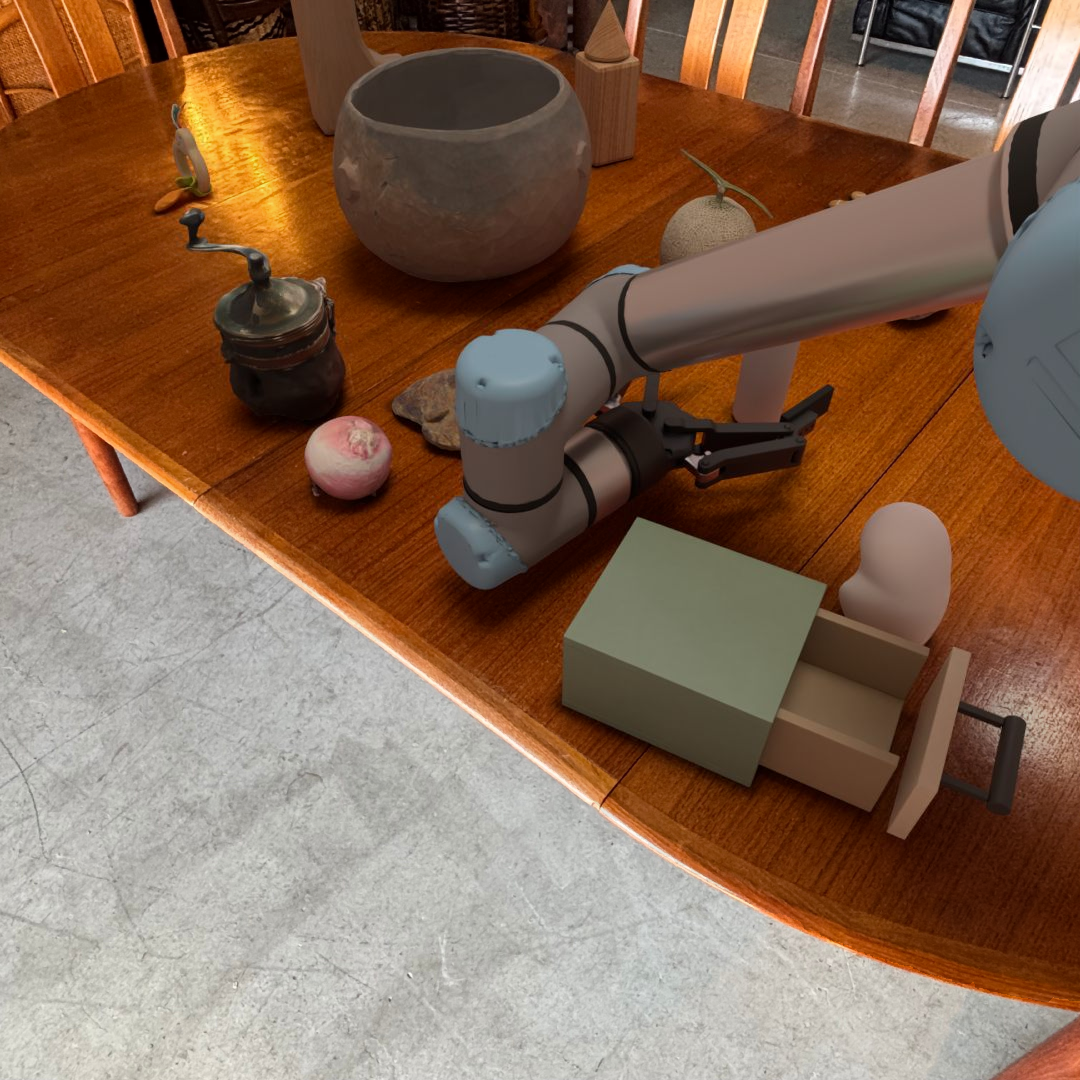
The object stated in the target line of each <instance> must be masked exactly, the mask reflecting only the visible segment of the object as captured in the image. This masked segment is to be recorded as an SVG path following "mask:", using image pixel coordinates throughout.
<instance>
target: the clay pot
mask: <svg viewBox="0 0 1080 1080" xmlns="http://www.w3.org/2000/svg"><path fill="white" fill-rule="evenodd" d="M333 138H334V139H333V150H332V178H333V186H334V190H335V196H336V198H337V201H338V206H339V208H340V209H341V211H342V213H343V215H344V217H345V219H346V221H347V223H348V225H349V226H350V228H351V229H352V231H353V233H354V234H355V236H356V237H357V238H358V239H359V240H360V242H361V243H362V244H363V245H364V247H365V248H366V249H368V250H369V251H370V252H371V253H373V254H374V255H375V256H377V257H378V258H379V259H380V260H382V261H383V262H384V263H386V264H388V265H390V266H391V267H393V268H395V269H398V270H399V271H401V272H404V273H405V274H408V275H410V276H413V277H415V278H418V279H422V280H427V281H432V282H440V283H441V282H442V283H460V282H461V283H463V282H476V281H478V282H479V281H486V280H493V279H498V278H503V277H507V276H512V275H514V274H517V273H520V272H522V271H525V270H527V269H529V268H531V267H534V266H535V265H538V264H540V263H541V262H543V261H544V260H546V259H548V258H549V257H551V256H552V255H554V254H555V253H556V252H557V251H558V250H559V249H560V248H561V247H562V246H563V245H564V244H565V243H566V242H567V240H568V239H569V238H570V237H571V235H572V233H573V232H574V231H575V229H576V228H577V226H578V224H579V221H580V219H581V217H582V215H583V212H584V209H585V206H586V203H587V198H588V197H587V195H588V190H589V186H590V185H589V184H590V179H591V170H592V164H591V163H592V158H591V140H590V133H589V128H588V124H587V121H586V117H585V113H584V111H583V109H582V106H581V104H580V102H579V99H578V97H577V95H576V93H575V89H574V88H573V86H572V85H571V84H570V82H569V80H568V79H567V78H566V77H565V75H564V74H563V73H562V72H561V71H560V70H559V69H558V68H557V67H555V66H553V65H552V64H550V63H548V62H546V61H544V60H542V59H540V58H538V57H536V56H534V55H530V54H526V53H523V52H519V51H515V50H509V49H504V48H494V47H475V46H474V47H473V46H470V47H468V46H467V47H466V46H464V47H463V46H462V47H451V48H449V47H448V48H439V49H432V50H426V51H420V52H415V53H411V54H406V55H404V56H403V55H402V57H400V58H397V59H393V60H390V61H388V62H386V63H383V64H381V65H379V66H377V67H375V68H374V69H372V70H371V71H369V72H367V73H366V74H364V75H363V76H362V77H361V78H359V79H358V80H357V81H356V82H355V83H354V84H353V85H352V86H351V88H350V89H349V90H348V92H347V94H346V96H345V99H344V101H343V104H342V106H341V109H340V112H339V116H338V120H337V125H336V130H335V134H334V137H333Z"/></svg>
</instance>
